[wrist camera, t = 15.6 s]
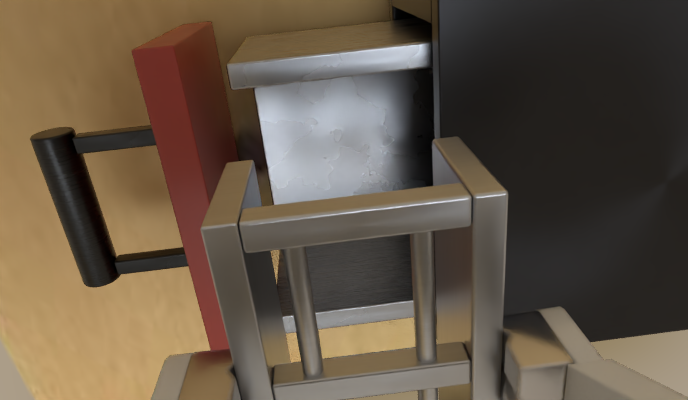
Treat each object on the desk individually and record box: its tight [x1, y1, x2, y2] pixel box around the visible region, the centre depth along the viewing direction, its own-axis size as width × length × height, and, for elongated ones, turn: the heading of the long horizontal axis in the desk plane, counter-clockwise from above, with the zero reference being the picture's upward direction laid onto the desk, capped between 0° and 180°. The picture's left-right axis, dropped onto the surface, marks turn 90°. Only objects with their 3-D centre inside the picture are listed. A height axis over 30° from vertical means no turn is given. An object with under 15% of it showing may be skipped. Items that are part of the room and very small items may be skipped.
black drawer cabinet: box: [389, 0, 688, 342], centre depth 20 cm, size 15×13×9 cm
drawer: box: [30, 18, 437, 351], centre depth 20 cm, size 18×11×7 cm, turn 95°
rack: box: [201, 137, 508, 400], centre depth 11 cm, size 8×5×3 cm, turn 6°
